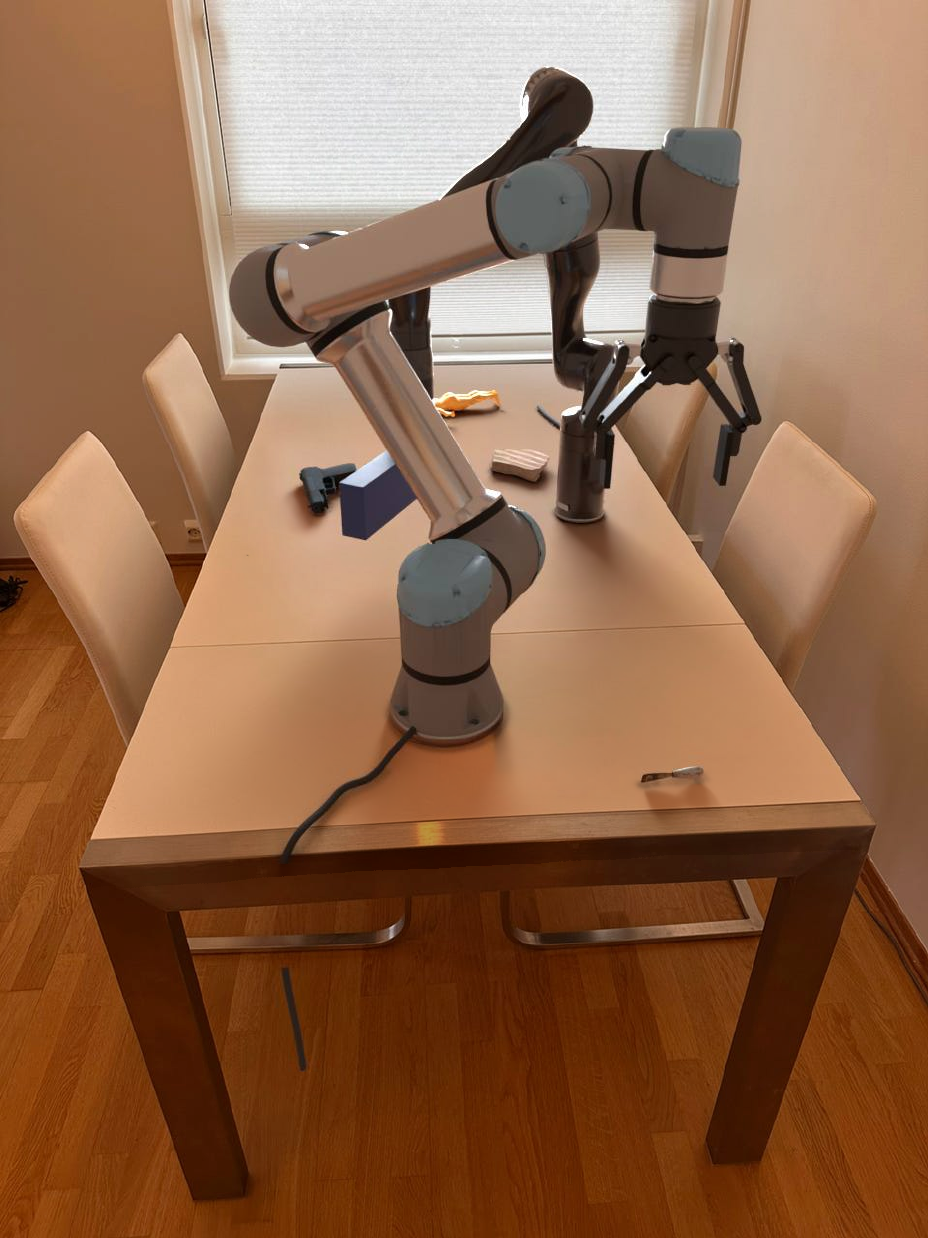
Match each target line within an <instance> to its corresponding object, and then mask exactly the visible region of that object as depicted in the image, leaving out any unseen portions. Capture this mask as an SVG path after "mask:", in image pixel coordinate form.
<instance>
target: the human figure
mask: <svg viewBox="0 0 928 1238" xmlns="http://www.w3.org/2000/svg"><path fill="white" fill-rule="evenodd" d="M488 400H493V402H494V403H495V404H496V405H497V406H500V398H499V393H498V392H497V391H496V390H495V389H493V390H491V391H478V390H473V391H470V392H469V393H468V394H460V393H457V394H455V393H453V392H446V393H444V394H443V395H442V396H441V397H440V398H435V397H434V399H433V400H432V402H433V403H434V405H435V407H436V408H437V410H438V411H439V413H440V415H443V416H444V417H449V416H450V417H451V418H452V417H453V418H454V417H455V416H456V414H455V411H462V410H464V409H467V408H469V407H471V406H473V405H476V404H478V403H481V402H484V401H488ZM450 410H452V411H450Z"/></svg>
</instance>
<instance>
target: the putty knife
mask: <svg viewBox="0 0 928 1238" xmlns="http://www.w3.org/2000/svg"><path fill="white" fill-rule="evenodd" d="M704 772H705V771H704V768H702V767H701V766H697V765H695V766H688V767H683V768H679V769H675V770H673V771H671V772H653V773H652V772H651V773H650V772H649V773H644V774H642V776H641V779H640V783H642V784H645V783H648V782H653V781H659V780H665V779H668V778H673V779H674V778H675V779H693V778H694V779H695V778H700V777H702V776H703V775H704Z"/></svg>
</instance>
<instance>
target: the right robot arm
mask: <svg viewBox="0 0 928 1238" xmlns="http://www.w3.org/2000/svg"><path fill="white" fill-rule="evenodd" d="M593 98H594V97H593V95H592V92H591V90H590V88H589V87H588V85H587V84H586V83H585V82H584V81H583V80H582V79H580V78H579V77H577V76H576V75H574V74H571V73H570V72H568V71H567V70H565V69H563V68H559V67H555V66H545V67H541V68H539V69H536V70H535V71H534V72H533V73H532V74H531V75H530V76H529V77H528V79H526V82H525V84H524V86H523V88H522V91H521V95H520V103H519V108H520V117H521V121H522V122H521V123H520V124H519V126H518V127H517V128H516V130H514V132H513V133H512V135H510V137H509V138H508V139H507V140H506V141H505V142H504V143H503V144H502V145H501V146H499V148H497V149H496V150H495V151H494V152H493V153H492V154H490V155H489V156H488V157H486V158H484V159H483V160H482V161H480V162H479V163H478V164H476V165H475V166H474V167H471V169H469V170H468V171H466V172H465V173H464V174H463V175H462V176H460V177H459V178H458V179H457V180H456V181H455V182H454V183H453V184H451V185H450V187H449V188H448V189H447V190H446V191H445V192H444V193H443V194H442V196H440V198H439V199H441V198H444V197H447V196H449V195H452V194H455V193H458V192H460V191H463V190H466V189H468V188H471V187H474V186H476V185H479V184H482V183H485V182H487V181H490V180H493V179H498V178H500V177H502V176H504V175H506V174H509V173H512V172H514V171H515V170H517V169H518V168H520V167H521V166H523V165H525V164H528V163H530V162H533V161H537V160H540V159H544V158H549V159H550V156H551V154H552V153H553V152H554V151H555V150H556V149H559V148H563V147H578V139H580V137H581V136H583V135H584V133H585V132H586V130H587V129H588V128H589V125H590V124H591V121H592V118H593V114H594V99H593ZM599 239H600V238H599V231H598V232H596V233H594V234H591V235H589V236H586V237H584V238H580V239H578V240H576V241H574V242H571V243H570V244H569V245H568V246H566V247H564V248H561V249H558V250H556V251H553V252H550V253H546V254H542V259H543V267H544V271H545V272H544V273H545V278H546V285H547V292H548V301H549V302H548V303H549V312H550V323H551V324H550V325H551V348H552V349H551V354H552V355H551V356H552V368H553V373H554V376H555V379H556V381H557V383H558V384H559V385H560V386H562V387H563V388H564V389H565V388H566V389H568V390H571V391H574V392H578V393H581V394H582V400H581V405H578V406H573V407H570V408H567V409H565V410H563V411H562V413H561V415H560V418H559V419H560V421H558V420H557V419H555V418H554V417H552V416H551V415H550V414H549V413H548V412H547V411H546V410H545V409H544V408H543V407H542V406H541V405H540V404H537V405H536V408H537V410H538V411H539V413H541V414H542V415H543V416H544V417H545V418H547V420H549V421H550V422H552V423H553V424H554V425H556V426H557V427H559V438H558V439H559V441H558V459H557V477H556V479H557V480H556V495H555V507H554V514H555V515H556V517H557V518H559V519H560V520H563V521H565V522H569V523H573V524H574V523H575V524H588V523H595V522H597V521H599V520H600V519H602V518H603V516H604V511H605V509H604V504H605V494H606V489H604V488H603V486H602V484H601V482H600V469H601V460H597V459H596V457H595V455H594V452H593V448H594V435H595V431H594V430H592V429H585V428H584V427H583V425H582V423H581V421H580V418H579V416H580V414H581V412H582V410H583V409H584V407H585V405H586V403H587V402H588V400H589V398H590V396H591V395H592V393H593V391H594V389H595V388H596V386H597V384H598V382H599V381H600V379H601V377H602V375H603V374H604V372H605V370H606V368H607V367H608V365H609V363H610V361H611V359H612V354H613V349H614V344H610V343H606V342H603V341H599V340H595V339H591V338H587V335H586V331H585V326H584V309H585V304H586V301H587V299H588V297H589V295H590V292H591V291H592V288H593V287H594V285H595V282H596V279H597V277H598V275H599V271H600V268H601V267H600V266H601V252H600V251H601V250H600V240H599ZM431 292H432V286H431V287H427V288H424V289H421V290H418V291H414V292H411V293H408V294H405V295H402V296H398V297H395V298H392V299H389V300H387V304H388V306H389V308H390V309H391V311H392V318H391V323H390V332H391V334H392V335H393V337H394V338H395V340H396V342H397V343H398V345H399V347H400V348H401V350H402V352H403V353H404V355H405V357H406V358H407V360H408V362H409V363H410V365H411V367H412V368H413V370H414V372H415V373H416V375H417V377H418V378H419V380H420V382H421V383H422V385H423V387H424V388H425V390H426V392H427V393H428V395H429V397H430V398H431V400H433V399H434V398H435V382H434V381H435V378H434V377H435V375H434V355H433V348H432V347H433V346H432V322H431V321H432V320H431V314H430V309H431ZM619 385H620V381H619V382H618V384H617V386H616V387H615V389H614V391H613V392H612V394H611V396H610V398H609V399H608V401H607V403H606V404H605V406H604V408H603V410H602V411H601V413H602V412H603V411H604V410H605V409H606V407H607V406H608V405H609V404H610V403H611V402H612V401H613V400H614V399H615V398H616V397H617V396H618V395H619ZM601 413H600V414H601Z"/></svg>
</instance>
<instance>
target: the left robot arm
mask: <svg viewBox="0 0 928 1238" xmlns="http://www.w3.org/2000/svg"><path fill="white" fill-rule="evenodd" d="M742 141H743V140H742V138H741V136H740V133H738V131H736V130H735V129H732V128H727V127H711V126H701V127H697V126H696V127H695V126H683V127H681V126H680V127H672V128H670V129H668V130H667V132H666V133H665V134H664V139H663V144H662V145H661V148H655V149H648V150H647V149H629V148H615V147H614V148H613V147H595V146H594V147H593V146H591V145H585V144H584V145H581V146H577V147H563V148H559V149H556V150H555V151H554V152H553V153H552V154H551V156H550V159H549V158H544V159H540V160H537V161H533V162H530V163H528V164H525V165H523V166H521V167H520V168H518V169H517V170H515V171H514V172H512V173H509V174H506V175H504V176H502V177H500V178H498V179H493V180H490V181H487V182H485V183H482V184H479V185H476V186H474V187H471V188H468V189H466V190H463V191H460V192H458V193H455V194H452V195H449V196H447V197H444V198H441V197H440V198H441V199H440V198H439V199H436V200H434V201H431V202H428V203H426V204H423V205H420V206H418V207H415V208H412V209H408V210H407V211H404V212H401V213H398V214H395V215H393V216H391V217H387V218H385V219H382V220H379V221H377V222H374V223H371V224H369V225H365V226H363V227H361V228H357V229H355V230H353V231H349V232H347V231H342V230H331V231H328V230H327V231H326V230H324V231H315V232H312V233H309V234H307V235H306V236H303V237H298V238H293V239H291V240H287V241H283V242H280V243H275V244H269V245H266V246H262V247H259V248H257V249H255V250H254V251H251V252H250V253H248V254H246V256H244V257H243V258H242V259H241V261H239V263H238V264H237V266H236V267H235V268H234V271H233V273H232V275H231V278H230V282H229V287H228V300H229V304H230V308H231V312H232V314H233V316H234V318H235V320H236V323H238V325H239V327H240V328H241V329H242V330H243V331H244V333H246V334H247V336H249V337H250V338H252V339H253V340H255V341H256V342H258V343H261V344H263V345H265V346H269V347H274V348H288V347H294V346H297V345H301V344H304V343H305V344H306V345H307V347H308V349H309V350H310V351H311V353H312V355H313V356H314V357H315V360H316V361H317V362H319V363H323V364H328V365H331V366H332V367H334V368H335V369H336V371H337V372H338V374H339V376H340V377H341V379H342V381H343V382H344V383H345V386H346V387H347V389H348V390H349V392H350V394H351V395H352V397H353V398H354V400H355V402H356V403H357V405H358V407H359V408H360V410H361V411H362V413H363V414H364V416H365V418H366V419H367V421H368V422H369V424H370V426H371V427H372V429H373V430H374V432H375V434H376V435H377V437H378V438H379V440H380V442H381V443H382V445H383V446H384V448H385V451H386V450H387V451H388V453H389V454H390V456H391V458H392V459H393V461H394V462H395V464H396V466H397V467H398V469H399V471H400V472H401V474H402V475H403V477H404V479H405V480H406V482H407V483H408V485H409V487H410V488H411V490H412V491H413V493H414V495H415V496H416V498H417V499H416V500H417V501H418V503H419V504H420V506H421V508H422V509H423V511H424V513H425V514H426V516H427V517H428V519H429V520H430V526H429V527H430V528H429V533H428V537H427V538H428V540H429V541H430V542H427V543H425V544H422V545H420V546H418V547H416V548H415V549H413V550H412V551H411V552H410V553H408V555H407V556H406V557H405V558H404V559H403V561H402V562H401V564H400V567H399V570H398V577H397V587H396V601H397V604H398V616H399V617H398V618H399V633H400V634H399V637H400V639H399V640H400V655H401V667H400V669H399V672H398V675H397V678H396V681H395V684H394V687H393V690H392V693H391V696H390V703H389V706H390V718H391V721H392V724H393V725H394V727H395V728H396V729H397V731H398V732H399V733H400V734H402V736H401V737H400V738H399V739H398V740H397V741H396V743H394V745H393V746H392V747H391V748H390V749H389V751H388V752H387V753H386V754H385V755H384V757H383V758H382V759H381V761H379V763H378V764H377V765H376V766H375V768H374V769H373V770H371V771H370V772H369V773H367V774H366V775H364V776H362V777H359V778H355V779H352V780H349V781H347V782H345V783H343V784H341V785H340V786H339V787H338V788H336V789H335V790H334V791H333V792H332V793H331V795H330V796H329V797H328V799H326V800H325V802H323V804H322V805H321V806H319V807H318V808H317V809H316V810H315V811H314V812H313V813H312V814H311V815H309V816H308V817H307V818H306V819H305V820H304V821H303V822H302V823H300V824H299V826H298V827H297V828H296V829H295V831H294V832H292V833H293V834H292V835H291V836H290V838H289V840H288V841H287V843H286V845H285V847H284V849H283V851H282V854H281V856H280V859H279V864H281V865H285V864H286V863H288V862H289V861H290V859H291V855H292V853H293V851H294V849H295V847H296V845H297V844H298V842H299V840H300V839H301V837H302V836H303V835H304V834H305V833H306V831H308V829H309V828H310V827H311V826H313V825H314V824H315V823H316V822H318V820H320V819H321V818H322V817H323V816H324V815H325V814H326V813H327V812H328V811H329V810H330V809H331V808H332V807H333V806H334V804H335V803H336V802H337V801H338V799H339V798H341V796H343V795H344V794H345V793H346V792H348V791H350V790H352V789H354V788H357V787H361V786H364V785H367V784H368V783H371V782H372V781H373V780H375V779H376V778H377V777H378V776H379V775H381V773H383V771H384V770H385V769H386V768H387V766H388V765H389V764H390V762H391V761H392V760H393V758H394V757H395V756H396V755H397V754H398V753H399V752H400V751H401V749H402V748H403V747H404V746H405V745H406V744H407V743H408V742H409V741H410V740H411V741H413V742H415V743H417V744H420V745H421V744H422V745H425V746H430V747H437V748H454V747H455V748H457V747H463V746H467V745H471V744H473V743H476V742H480V741H481V740H483V739H485V738H486V737H488V736H489V735H491V734H492V733H493V732H494V731H495V730H496V729H498V727H499V726H500V724H501V722H502V720H503V717H504V696H503V693H502V690H501V687H500V685H499V682H498V679H497V677H496V674H495V672H494V668H493V666H492V664H491V654H492V653H491V651H492V649H491V648H492V647H491V645H492V641H491V640H492V630H493V626H494V625H495V623H496V622H497V621H498V620H499V619H500V618H501V617H502V616H503V615H504V614H505V613H506V612H507V611H508V609H510V607H512V605H513V604H515V602H516V601H517V600H518V599H519V598H520V597H521V596H522V594H524V593H526V592H527V591H528V590H529V589H530V588H531V587H532V586H533V584H534V583H535V581H536V579H537V577H538V576H539V574H540V573H541V571H542V569H543V567H544V564H545V560H546V556H547V555H546V553H547V549H546V548H547V545H546V541H545V536H544V534H543V531H542V528H541V527H540V525H539V524H538V523H537V521H536V519H535V518H534V517H532V515H531V514H530V513H528V511H526V510H522V509H519V507H517V506H515V505H510V504H508V502H507V500H506V499H505V497H504V495H503V494H502V493H501V492H500V491H496V490H492V489H488V488H486V486H484V485H483V482H481V481H482V480H481V479H480V478H479V476H478V474H477V472H476V471H475V469H474V468H473V466H472V465H471V463H470V461H469V459H468V458H467V456H466V454H465V453H464V451H463V450H462V447H461V446H460V444H459V443H458V441H457V440H456V438H455V436H454V435H453V433H452V432H451V429H450V428H449V427H448V425H447V423H446V421H445V419H444V418H443V417H442V414H440V413H439V411H438V410H437V408H436V407H435V405H434V403H433V402H432V400H431V398H430V397H429V395H428V393H427V392H426V390H425V388H424V387H423V385H422V383H421V382H420V380H419V378H418V377H417V375H416V373H415V372H414V370H413V368H412V367H411V365H410V363H409V362H408V360H407V358H406V357H405V355H404V353H403V352H402V350H401V348H400V347H399V345H398V343H397V342H396V340H395V338H394V337H393V335H392V334H391V332H390V323H391V318H392V311H391V309H390V308H389V304H388V302H387V301H388V300H389V299H392V298H395V297H398V296H402V295H405V294H408V293H411V292H414V291H418V290H421V289H424V288H427V287H431V288H432V287H434V286H437V285H439V284H443V283H446V282H450V281H453V280H455V279H459V278H462V277H466V276H469V275H473V274H474V273H478V272H481V271H485V270H488V269H491V268H494V267H498V266H502V265H505V264H507V263H511V262H515V261H518V260H520V259H521V260H522V259H526V258H529V257H532V256H536V255H543V254H546V253H550V252H553V251H556V250H558V249H561V248H564V247H566V246H568V245H569V244H570V243H571V242H574V241H576V240H578V239H580V238H584V237H586V236H589V235H591V234H594V233H596V232H598V233H599V232H601V231H603V230H623V231H639V232H653V233H654V234H653V235H654V241H653V249H652V250H653V254H652V261H651V262H652V263H651V271H650V280H649V287H648V288H649V290H650V291H651V292H652V293H653V294H651V295H650V297H648V299H647V307H646V318H645V328H644V336H643V339H642V341H641V343H640V344H637V343H628V342H627V343H626V342H625V341H624V340H623V339H618V340H616V341H615V342H614V344H613V346H614V349H613V354H612V359H611V361H610V363H609V365H608V367H607V368H606V370H605V372H604V374H603V375H602V377H601V379H600V381H599V382H598V384H597V386H596V388H595V389H594V391H593V393H592V395H591V396H590V398H589V400H588V402H587V403H586V405H585V407H584V409H583V410H582V412H581V414H580V416H579V418H580V421H581V423H582V425H583V427H584V428H585V429H592V430H594V431H595V435H594V448H593V452H594V455H595V457H596V459H597V460H601V469H600V482H601V484H602V486H603V488H604V489H605V490H610V489H611V484H612V473H613V461H614V451H615V450H614V449H615V440H616V439H615V438H616V434H615V432H614V431H613V429H612V428H613V427H614V426H615V425H616V424H617V423H618V422H619V421H620V420H621V419H622V418H623V416H624V415H625V414H626V413H628V411H629V410H630V409H631V408H632V407H633V406H634V405H635V404H636V403H637V402H638V401H639V400H640V399H641V398H642V396H643V395H644V394H645V393H646V392H648V391H650V390H652V388H654V386H655V385H656V384H657V383H658V384H660V385H662V386H672V385H677V384H678V385H682V386H691V385H692V384H693V383H695V382H697V381H698V382H699V383H700V384H701V386H702V387H703V389H704V390H705V391H706V393H707V394H708V396H709V397H710V398H711V400H712V401H713V403H714V404H715V405H716V407H717V408H718V410H719V411H720V412H721V414H722V415H723V417H724V418H725V419H726V420H727V422H728V423H721V424H720V428H719V432H718V433H719V434H718V439H717V446H716V448H717V449H716V453H715V460H714V466H713V472H712V478H713V479H714V481H715V482H716V484H717V485H718V486H719V487H726V486H727V482H728V481H727V480H728V474H729V469H730V468H729V467H730V462H731V457H737V456H738V455H739V453H740V447H741V442H742V436H743V434H744V433H746V432H747V430H748V427H749V426H758V425H760V424H761V423H762V415H761V413H760V409H759V406H758V403H757V400H756V397H755V394H754V391H753V389H752V385H751V381H750V379H749V376H748V373H747V371H746V367H745V364H744V362H745V361H744V360H745V359H744V358H745V346H744V344H743V343H741V341H739V340H738V339H737V338H735V337H730V338H729V339H727V341H721V342H717V339H716V338H717V332H718V326H719V318H720V313H721V305H722V303H721V302H722V301H721V300H720V298H719V296H720V295H721V294H722V293H723V292H724V286H725V278H726V277H725V276H726V268H727V261H728V254H729V248H730V247H729V246H730V238H731V233H732V226H733V220H734V213H735V207H736V200H737V195H738V190H739V186H740V178H739V177H740V165H741V156H742V144H743V143H742ZM718 355H719V356H720V358H721V360H722V361H723V362H724V363H726V365H727V369H728V371H729V374H730V378H731V380H732V383H733V386H734V389H735V393H736V395H737V398H738V400H739V403H740V407H741V410H742V412H740V413H738V412H737V410H736V408H734V406H733V404H732V403H731V402H730V400H729V399H728V398H727V396H726V395H725V393H724V392H723V390H722V389H721V388H720V386H719V385H718V383H717V382H716V381H715V379H714V377H713V376H712V375H711V373H710V372H709V370H708V368H709V366H711V364H712V363H713V362H714V361H715V359H716V358H717V356H718ZM637 357H639V358H640V359H641V361H642V362H643V365H642V366H641V367H640V368H639V369H638V370H637V371H636V372H635V375H634V377H633V378H632V379H631V380H630V381H629V382H628V384H627V385H626V386H624V388H623V389H622V390H621V391H620V392H618V394H617V397H616V398H615V399H614V400H613V401H612V402H611V403H610V404H609V405H608V406H607V407H606V409H605V410H604V411H603V412H602V413H601V411H602V410H603V408H604V406H605V404H606V403H607V401H608V399H609V398H610V396H611V394H612V392H613V391H614V389H615V387H616V386H617V384H618V382H619V383H620V380H621V379H622V377H623V375H624V374H625V371H626V369H627V366H629V365H631V364H632V363H633V362H634V360H635V359H636V358H637ZM600 413H601V414H600ZM280 971H281V977H282V978H281V980H282V984H283V988H284V989H283V990H284V994H285V999H286V1004H287V1009H288V1013H289V1018H290V1022H291V1023H290V1024H291V1027H292V1032H293V1037H294V1043H295V1049H296V1054H297V1061H298V1068H299V1071H301V1072H305V1071H306V1070H307V1060H306V1053H305V1048H304V1042H303V1035H302V1031H301V1024H300V1020H299V1016H298V1012H297V1011H298V1010H297V1006H296V1000H295V997H294V990H293V986H292V985H293V984H292V979H291V974H290V967H289V966H287V967H281V968H280Z"/></svg>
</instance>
